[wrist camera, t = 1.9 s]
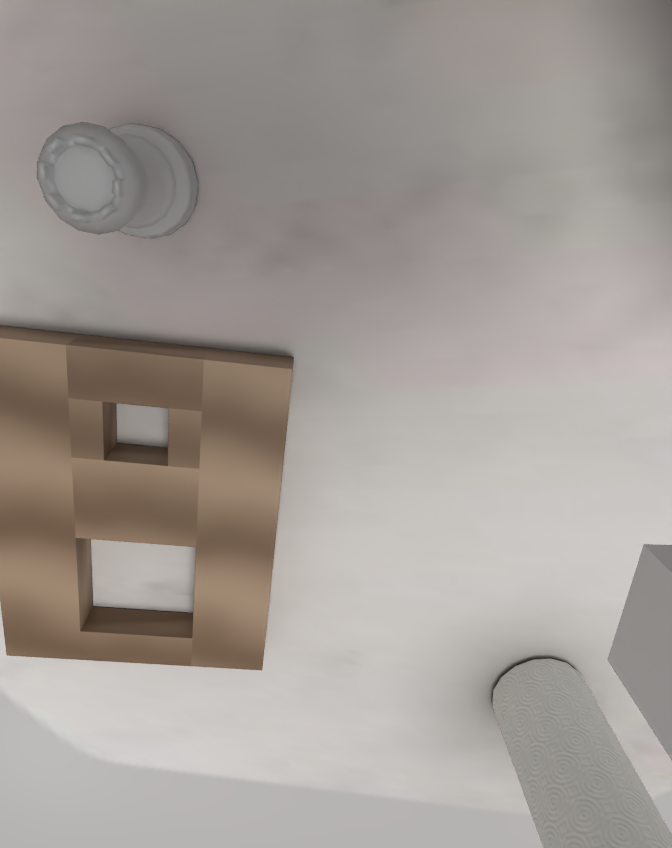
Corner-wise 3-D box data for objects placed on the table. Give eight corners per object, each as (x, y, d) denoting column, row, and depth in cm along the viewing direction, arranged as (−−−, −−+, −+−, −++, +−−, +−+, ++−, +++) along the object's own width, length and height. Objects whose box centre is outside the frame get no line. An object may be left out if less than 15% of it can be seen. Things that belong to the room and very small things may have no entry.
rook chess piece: (128, 253, 26) (56, 278, 18) (74, 152, 24) (-30, 133, 17) (218, 213, 25) (181, 222, 18) (169, 107, 24) (106, 67, 16)
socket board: (-7, 324, 27) (-30, 334, 25) (293, 357, 28) (292, 369, 26) (23, 629, 33) (6, 655, 31) (264, 644, 34) (262, 670, 33)
